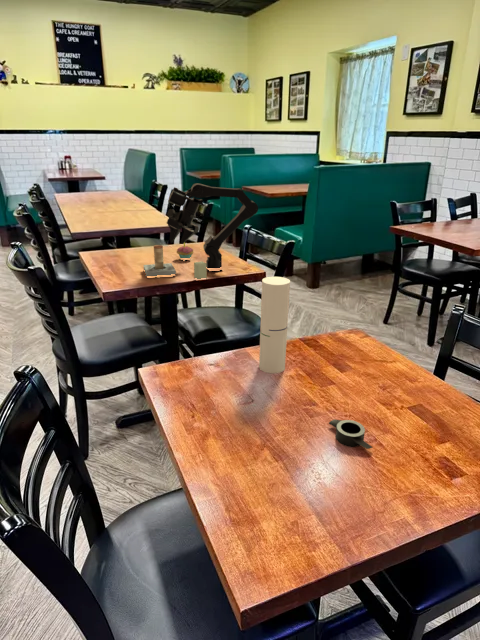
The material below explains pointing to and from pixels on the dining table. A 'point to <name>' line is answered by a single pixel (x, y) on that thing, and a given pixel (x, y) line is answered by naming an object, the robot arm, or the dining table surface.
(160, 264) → the birch dowel
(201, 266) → the square bit
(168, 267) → the bore block
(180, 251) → the cupcake
